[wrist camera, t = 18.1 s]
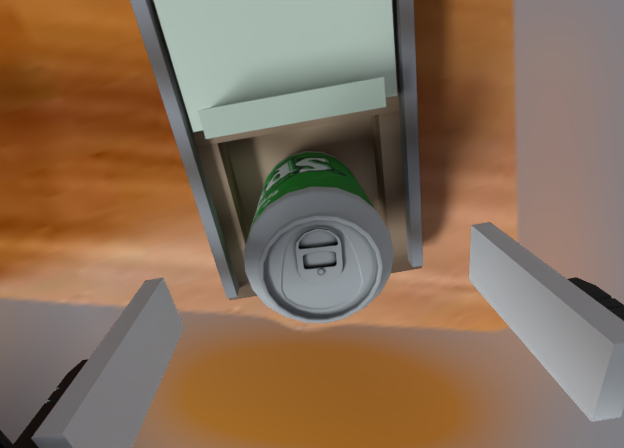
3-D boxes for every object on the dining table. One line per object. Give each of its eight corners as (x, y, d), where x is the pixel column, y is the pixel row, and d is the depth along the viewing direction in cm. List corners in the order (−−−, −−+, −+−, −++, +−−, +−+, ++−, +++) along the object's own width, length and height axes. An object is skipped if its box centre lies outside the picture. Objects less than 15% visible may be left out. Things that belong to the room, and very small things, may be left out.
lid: (129, -97, 17) (86, -144, 13) (378, -145, 17) (401, -207, 13) (197, 134, 21) (179, 143, 18) (394, 99, 21) (413, 102, 18)
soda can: (354, 142, 25) (401, 188, 14) (358, 232, 28) (400, 327, 17) (256, 153, 25) (225, 207, 14) (270, 241, 28) (254, 344, 17)
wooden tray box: (143, -24, 21) (108, -49, 17) (392, -71, 20) (415, -108, 17) (235, 280, 30) (226, 309, 26) (409, 250, 29) (427, 275, 26)
